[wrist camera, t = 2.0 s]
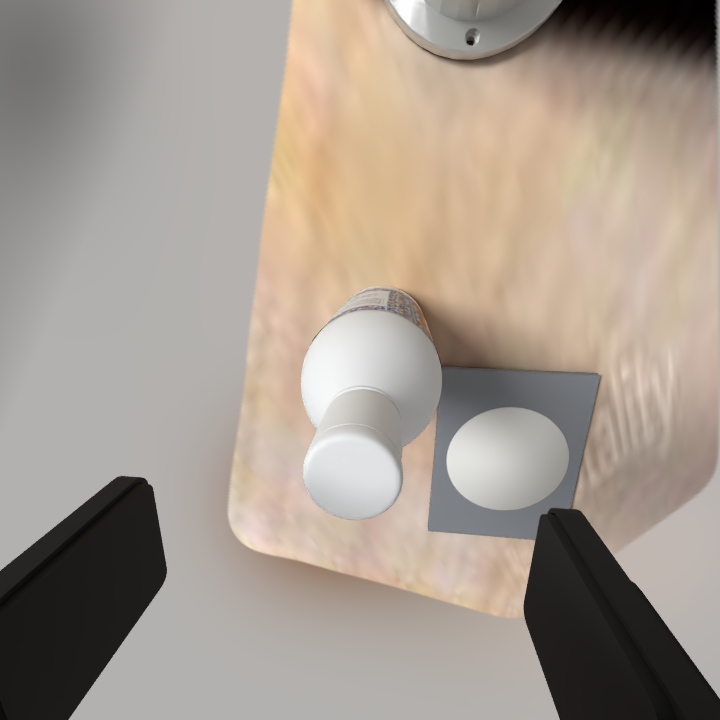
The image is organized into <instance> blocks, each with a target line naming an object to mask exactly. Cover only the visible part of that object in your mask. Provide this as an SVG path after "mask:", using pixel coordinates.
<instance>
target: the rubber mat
mask: <svg viewBox="0 0 720 720" xmlns="http://www.w3.org/2000/svg"><path fill="white" fill-rule="evenodd" d="M599 380H600V375H599V374H597V373H581V372H558V371H535V370H512V369H489V368H465V367H442V389H441V395H440V399H439V403H438V414H437V426H436V438H435V449H434V461H433V473H432V485H431V496H430V508H429V520H428V531H435V532H446V533H458V534H470V535H482V536H494V537H506V538H518V539H530V540H536V535H537V530H538V525H539V519H540V516H541V515H542V514H547V513H548V511H549V509H550V508H563V509H570V508H571V504H572V499H573V495H574V491H575V486H576V482H577V477H578V473H579V468H580V464H581V460H582V455H583V451H584V446H585V442H586V437H587V433H588V429H589V424H590V420H591V415H592V411H593V406H594V402H595V398H596V393H597V389H598V384H599Z"/></svg>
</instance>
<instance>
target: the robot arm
mask: <svg viewBox="0 0 720 720" xmlns="http://www.w3.org/2000/svg"><path fill="white" fill-rule="evenodd" d="M384 2H385V4H386V6H387V8H388V10H389V12H390V14H391V16H392V17H393V19H394V20H395V21H396V23H397V24H398V25H399V27H400V28H401V29H402V30H403V32H404V33H405V34H406V35H407V36H409V37H410V38H411V39H412V40H413V41H414V42H416V43H417V44H418V45H419V46H421V47H423V48H425V49H427V50H428V51H430V52H432V53H434V54H436V55H440V56H444V57H448V58H452V59H468V60H474V59H479V58H484V57H489V56H493V55H496V54H498V53H500V52H503V51H505V50H508V49H510V48H512V47H514V46H515V45H517V44H518V43H520V42H521V41H523V40H524V39H526V38H527V37H529V36H530V35H532V34H533V33H534V32H535V31H536V30H537V29H538V28H539V27H540V26H541V25H542V24H543V23H544V22H545V21H546V20H548V18H549V17H550V16H551V15H552V13H553V12H554V11H555V9H556V8H557V7H558V6H559V4H560V3H561V2H562V0H384ZM469 40H471V41H472V42H473V43H474V45H473V46H470V45H468V44H467V43H466V42H467V41H469ZM166 574H167V567H166V561H165V555H164V550H163V544H162V538H161V532H160V527H159V520H158V515H157V509H156V503H155V498H154V491H153V488H152V486H151V485H149V484H148V482H147V480H146V479H145V478H141V477H126V476H120V477H117V478H116V479H114V480H113V481H111V482H110V483H109V484H108V485H106V486H105V487H104V488H103V489H101V490H100V491H99V492H98V493H96V494H95V495H94V496H93V497H91V498H90V499H89V500H88V501H86V502H85V503H84V504H83V505H82V506H80V507H79V508H78V509H77V510H75V511H74V512H73V513H72V514H70V515H69V516H68V517H67V518H65V519H64V520H63V521H62V522H60V523H59V524H58V525H57V526H56V527H54V528H53V529H52V530H50V531H49V532H48V533H47V534H45V535H44V536H43V537H42V538H40V539H39V540H38V541H37V542H36V543H34V544H33V545H32V546H31V547H29V548H28V549H27V550H26V551H24V552H23V553H22V554H21V555H20V556H18V557H17V558H16V559H14V560H13V561H12V562H11V563H10V564H8V565H7V566H6V567H4V568H3V569H2V570H1V571H0V720H68V719H69V718H70V717H71V715H72V714H73V712H74V711H75V709H76V708H77V706H78V705H79V704H80V702H81V701H82V699H83V698H84V697H85V695H86V694H87V692H88V691H89V689H90V688H91V686H92V685H93V684H94V682H95V681H96V679H97V678H98V677H99V675H100V674H101V672H102V671H103V670H104V668H105V667H106V665H107V664H108V662H109V661H110V660H111V658H112V657H113V655H114V654H115V652H116V651H117V650H118V648H119V647H120V645H121V644H122V642H123V641H124V639H125V638H126V637H127V635H128V634H129V632H130V631H131V630H132V628H133V627H134V625H135V624H136V622H137V621H138V620H139V618H140V617H141V615H142V614H143V612H144V611H145V609H146V608H147V607H148V605H149V604H150V602H151V601H152V599H153V598H154V597H155V595H156V594H157V592H158V591H159V590H160V588H161V587H162V585H163V583H164V581H165V578H166ZM524 616H525V620H526V624H527V627H528V629H529V633H530V635H531V638H532V641H533V644H534V647H535V650H536V653H537V655H538V658H539V661H540V664H541V667H542V670H543V672H544V675H545V678H546V681H547V684H548V687H549V690H550V692H551V695H552V698H553V701H554V704H555V707H556V710H557V712H558V715H559V718H560V720H720V699H719V697H718V696H717V694H716V693H715V692H714V690H713V689H712V688H711V686H710V685H709V684H708V682H707V681H706V679H705V678H704V677H703V675H702V674H701V672H699V670H698V668H697V667H696V665H695V664H694V663H693V661H692V660H691V659H690V657H689V656H688V655H687V653H686V652H685V650H684V649H683V648H682V646H681V645H680V643H679V642H678V641H677V639H676V638H675V636H674V635H673V634H672V632H671V631H670V630H669V628H668V627H667V625H666V624H665V623H664V621H663V620H662V619H661V617H660V616H659V614H658V613H657V612H656V610H655V609H654V607H653V606H652V605H651V603H650V602H649V601H648V599H647V598H646V596H645V595H644V594H643V592H642V591H641V590H640V589H639V588H638V586H637V585H636V584H635V583H633V582H632V581H631V580H630V579H629V578H628V576H627V575H626V573H625V572H624V571H623V569H622V568H621V566H620V565H619V564H618V562H617V561H616V560H615V558H614V557H613V555H612V554H611V552H610V551H609V550H608V548H607V547H606V545H605V544H604V543H603V541H602V540H601V538H600V537H599V536H598V534H597V533H596V531H595V530H594V529H593V527H592V526H591V524H590V523H589V522H588V520H587V519H586V517H585V516H584V515H583V513H582V512H581V511H579V510H577V509H563V508H550V509H549V511H548V513H547V514H542V515H541V516H540V519H539V525H538V530H537V535H536V541H535V546H534V551H533V557H532V562H531V568H530V573H529V578H528V584H527V589H526V594H525V600H524Z"/></svg>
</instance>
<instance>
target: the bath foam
mask: <svg viewBox="0 0 720 720" xmlns="http://www.w3.org/2000/svg"><path fill="white" fill-rule="evenodd" d="M441 389H442V367H441V362H440V358H439V355H438V352H437V350H436V347H435V344H434V342H433V339H432V336H431V334H430V331H429V328H428V325H427V323H426V320H425V318H424V315H423V313H422V311H421V309H420V307H419V305H418V304H417V303H416V301H415V300H414V299H413V298H412V297H411V296H409V295H408V294H407V293H405V292H404V291H402V290H400V289H397V288H394V287H389V286H373V287H369V288H366V289H363V290H361V291H359V292H358V293H356V294H355V295H353V296H352V297H351V298H350V299H349V300H348V301H347V302H346V303H345V304H344V305H343V306H342V307H341V309H340V310H339V311H338V312H337V313H336V314H335V315H334V316H333V317H332V318H331V319H330V321H329V322H328V323H327V324H326V325H325V326H324V327H323V328H322V329H321V330H320V332H319V333H318V334H317V335H316V337H315V338H314V339H313V341H312V343H311V345H310V347H309V349H308V351H307V354H306V357H305V360H304V364H303V368H302V375H301V391H302V397H303V402H304V406H305V409H306V411H307V414H308V416H309V418H310V419H311V421H312V423H313V424H314V426H315V427H316V429H317V432H316V434H315V436H314V439H313V441H312V443H311V445H310V448H309V450H308V452H307V455H306V457H305V461H304V465H303V480H304V484H305V488H306V490H307V492H308V494H309V496H310V497H311V498H312V500H313V501H314V502H315V503H316V504H317V505H318V506H319V507H320V508H322V509H323V510H324V511H326V512H328V513H329V514H331V515H334V516H336V517H339V518H343V519H348V520H364V519H369V518H373V517H375V516H378V515H380V514H382V513H383V512H385V511H386V510H388V509H389V508H390V507H391V506H392V505H393V504H394V502H395V501H396V499H397V498H398V496H399V494H400V491H401V488H402V483H403V467H402V462H401V458H402V447H404V446H406V445H407V444H409V443H410V442H412V441H413V440H414V439H415V438H417V437H418V436H419V435H420V434H421V433H422V432H423V430H424V429H425V428H426V427H427V425H428V424H429V422H430V421H431V419H432V417H433V416H434V413H435V411H436V409H437V406H438V403H439V399H440V395H441Z"/></svg>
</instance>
